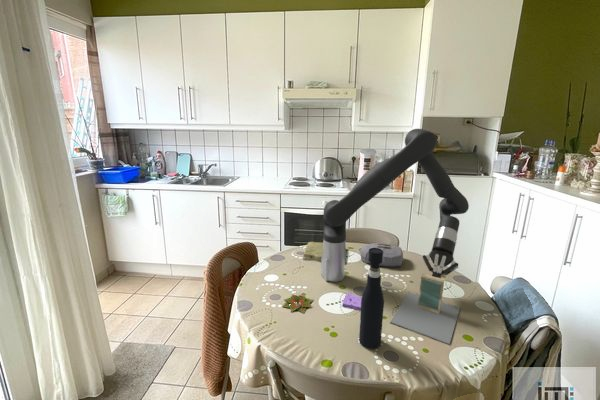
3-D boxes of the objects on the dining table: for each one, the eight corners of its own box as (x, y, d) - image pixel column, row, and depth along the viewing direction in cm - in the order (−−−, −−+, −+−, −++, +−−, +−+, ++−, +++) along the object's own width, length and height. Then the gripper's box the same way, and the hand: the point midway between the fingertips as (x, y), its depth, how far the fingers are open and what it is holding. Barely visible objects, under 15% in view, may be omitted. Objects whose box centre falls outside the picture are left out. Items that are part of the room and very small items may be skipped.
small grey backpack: (401, 256, 149) (360, 252, 154) (403, 241, 147) (361, 237, 152) (403, 271, 135) (357, 265, 140) (404, 253, 133) (358, 248, 138)
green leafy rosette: (290, 292, 118) (290, 282, 117) (319, 300, 113) (319, 289, 112) (275, 309, 108) (275, 298, 107) (306, 318, 103) (306, 306, 102)
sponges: (345, 297, 115) (346, 293, 115) (379, 303, 111) (379, 299, 111) (341, 307, 109) (342, 303, 109) (377, 315, 105) (377, 310, 104)
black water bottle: (356, 335, 94) (361, 246, 87) (376, 334, 95) (383, 245, 87) (362, 350, 88) (368, 255, 80) (383, 348, 89) (391, 254, 81)
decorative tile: (308, 246, 162) (308, 240, 161) (345, 249, 158) (346, 243, 157) (301, 261, 145) (301, 255, 144) (343, 265, 141) (343, 258, 140)
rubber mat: (408, 292, 117) (408, 291, 117) (460, 308, 108) (460, 307, 107) (389, 322, 100) (390, 321, 100) (449, 344, 90) (449, 343, 90)
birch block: (419, 303, 110) (423, 273, 107) (440, 310, 106) (444, 279, 103) (417, 307, 108) (421, 277, 104) (438, 314, 104) (442, 282, 101)
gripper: (426, 233, 118) (414, 274, 111) (464, 240, 110) (454, 285, 104) (427, 241, 123) (417, 281, 116) (464, 249, 116) (455, 292, 109)
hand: (434, 283), depth 110 cm, fingers closed
